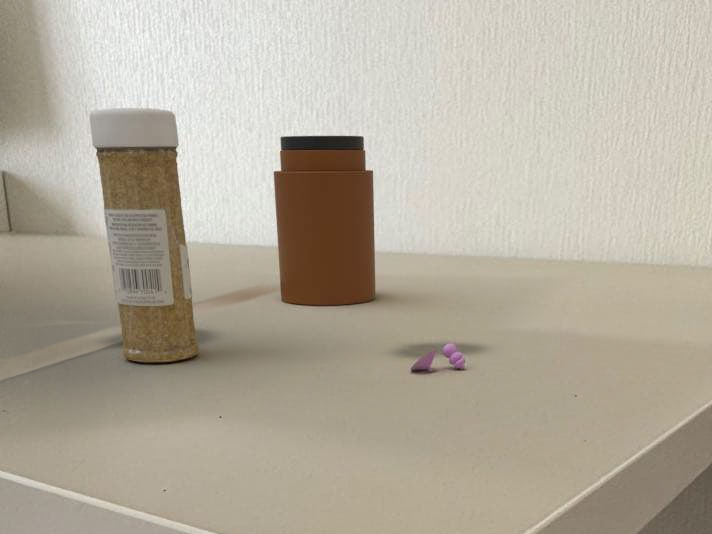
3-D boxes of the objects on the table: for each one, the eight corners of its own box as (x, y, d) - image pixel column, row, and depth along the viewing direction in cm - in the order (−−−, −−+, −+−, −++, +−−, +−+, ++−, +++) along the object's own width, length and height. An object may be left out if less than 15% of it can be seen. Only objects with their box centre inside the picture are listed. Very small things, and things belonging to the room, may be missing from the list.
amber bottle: (265, 303, 72) (254, 136, 67) (303, 290, 79) (295, 138, 74) (356, 307, 70) (352, 135, 65) (387, 293, 77) (385, 136, 72)
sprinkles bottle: (214, 352, 54) (192, 110, 49) (168, 367, 50) (138, 106, 45) (154, 347, 56) (126, 112, 50) (105, 361, 52) (69, 108, 47)
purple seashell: (424, 397, 50) (432, 385, 48) (407, 374, 50) (414, 361, 48) (464, 370, 51) (473, 358, 49) (447, 348, 51) (456, 335, 49)
